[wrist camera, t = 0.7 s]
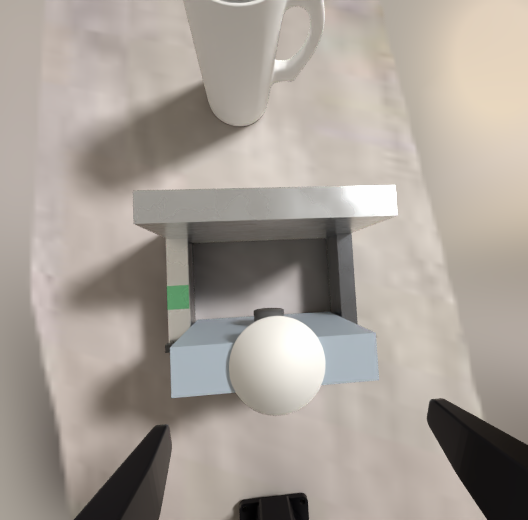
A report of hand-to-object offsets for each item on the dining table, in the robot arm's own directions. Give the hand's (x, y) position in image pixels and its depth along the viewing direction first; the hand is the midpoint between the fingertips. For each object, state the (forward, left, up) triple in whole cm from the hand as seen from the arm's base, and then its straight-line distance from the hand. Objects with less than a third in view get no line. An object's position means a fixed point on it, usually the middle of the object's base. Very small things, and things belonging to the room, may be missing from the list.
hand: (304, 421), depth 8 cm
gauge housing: (+5, 0, -17) cm, 17 cm away
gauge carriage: (-1, +1, -16) cm, 16 cm away
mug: (+23, 0, -17) cm, 29 cm away
